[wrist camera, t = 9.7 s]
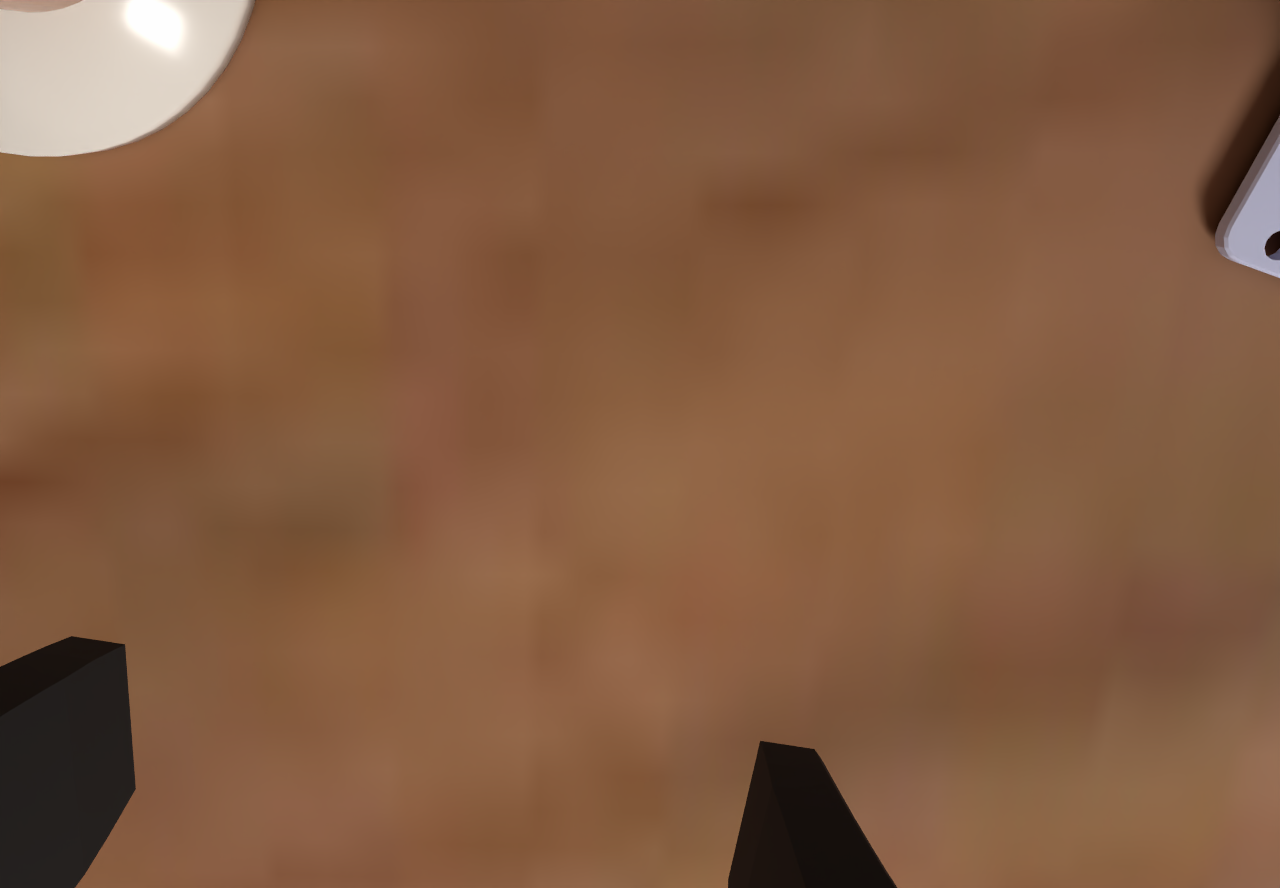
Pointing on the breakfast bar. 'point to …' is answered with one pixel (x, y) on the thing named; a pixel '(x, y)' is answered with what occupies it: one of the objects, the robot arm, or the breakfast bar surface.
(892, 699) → the breakfast bar surface
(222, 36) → the coaster
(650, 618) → the breakfast bar surface
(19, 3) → the flower pot
